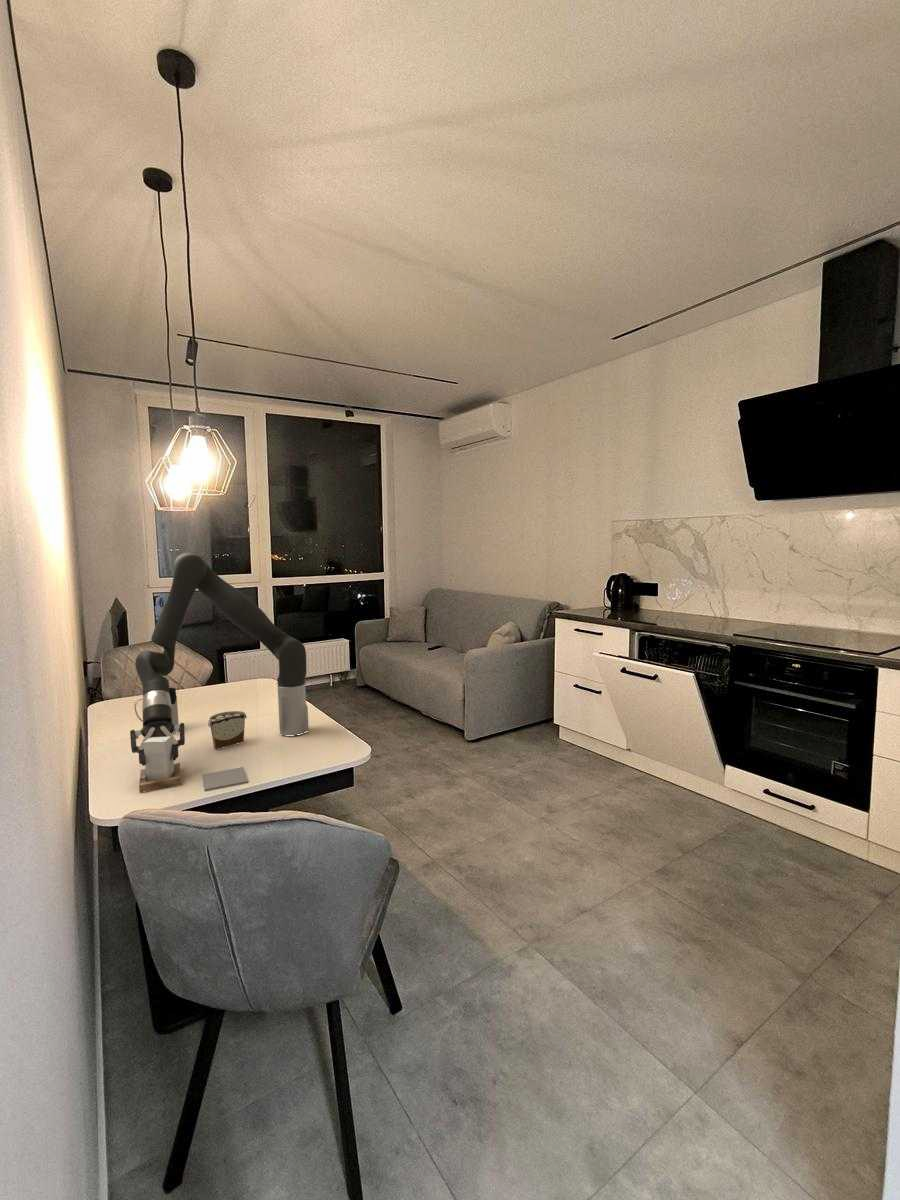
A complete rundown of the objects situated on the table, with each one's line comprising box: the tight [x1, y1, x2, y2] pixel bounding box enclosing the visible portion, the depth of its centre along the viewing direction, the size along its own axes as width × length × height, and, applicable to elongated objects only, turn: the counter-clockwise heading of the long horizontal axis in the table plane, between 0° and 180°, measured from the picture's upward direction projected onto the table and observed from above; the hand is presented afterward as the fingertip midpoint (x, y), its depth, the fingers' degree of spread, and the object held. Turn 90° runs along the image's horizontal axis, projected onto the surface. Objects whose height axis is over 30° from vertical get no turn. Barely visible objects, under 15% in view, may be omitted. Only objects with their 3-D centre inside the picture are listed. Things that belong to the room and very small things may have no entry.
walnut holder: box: [138, 762, 182, 793], centre depth 154 cm, size 10×12×2 cm
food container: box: [207, 710, 248, 751], centre depth 182 cm, size 12×6×10 cm, turn 134°
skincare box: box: [142, 736, 175, 782], centre depth 154 cm, size 6×4×12 cm
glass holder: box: [134, 687, 180, 734], centre depth 192 cm, size 9×14×15 cm, turn 141°
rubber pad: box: [201, 766, 249, 792], centre depth 155 cm, size 11×11×1 cm
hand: (159, 761), depth 153 cm, fingers closed on skincare box, 7 cm apart
